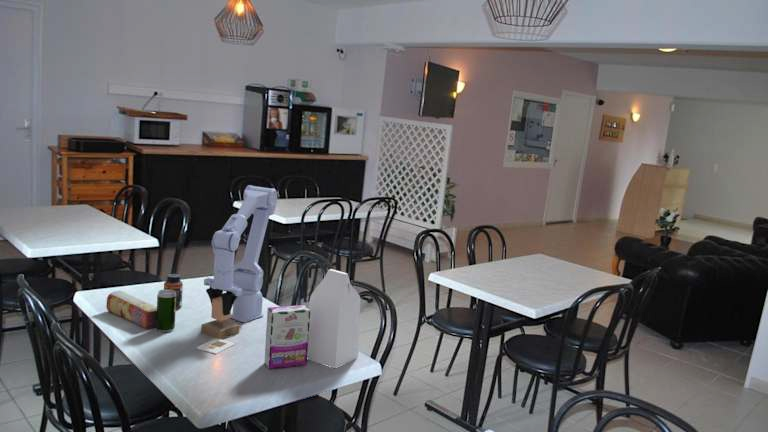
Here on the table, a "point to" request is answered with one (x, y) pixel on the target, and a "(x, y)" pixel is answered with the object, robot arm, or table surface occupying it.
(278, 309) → the candy bar box
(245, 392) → the table surface
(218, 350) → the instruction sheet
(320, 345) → the milk
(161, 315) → the beer can
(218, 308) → the terracotta block
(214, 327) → the walnut slab
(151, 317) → the snack package
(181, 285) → the supplement bottle
